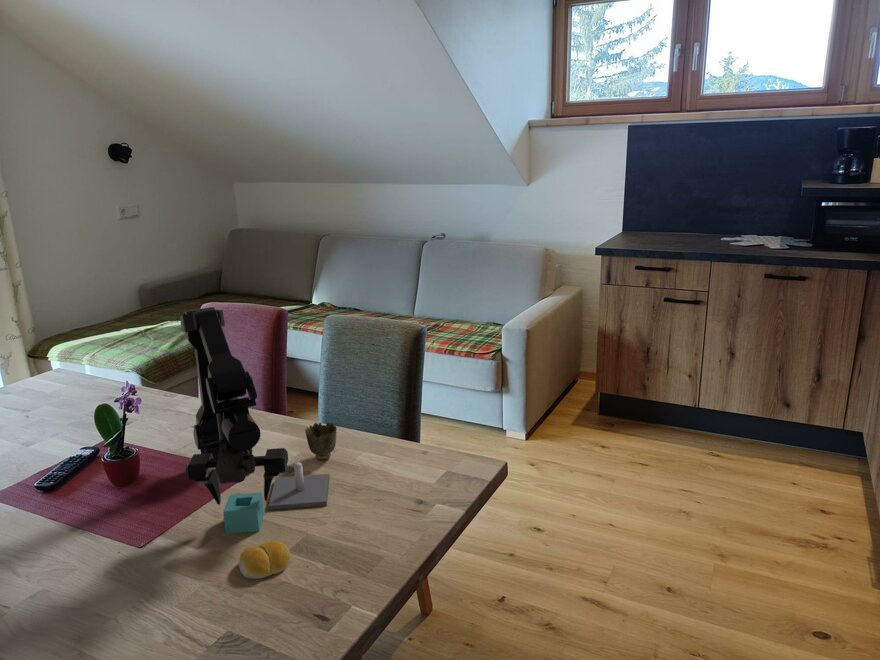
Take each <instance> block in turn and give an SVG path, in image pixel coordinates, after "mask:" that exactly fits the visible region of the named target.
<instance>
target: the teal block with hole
mask: <svg viewBox="0 0 880 660" xmlns="http://www.w3.org/2000/svg"><path fill="white" fill-rule="evenodd" d="M262 493H263V492H262V491H261V492H250V493H249V492H248V493H237V494H236V493H235V494H234V493H233V494H229V495H228V499H227V501H226V504H225V506H224V508H223V511H222V512H223V521H224V527H225V528H224V529H225V534H226V535H231V534H238V533H239V534H240V533H244V534H245V533H254V532H260V531H261V527H262V523H263V519H264V516H265V512H264V511H265V508H264V500H263V494H262Z"/></svg>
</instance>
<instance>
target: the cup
mask: <svg viewBox="0 0 880 660" xmlns="http://www.w3.org/2000/svg"><path fill="white" fill-rule="evenodd" d="M337 430H338V429H337V425H335V424H334V423H333V422H331V423H330V422H326V424H325V425H322V423H321V422H319V423H317V422H315V423H313V425H311V424H310V425H309V427H308V426H306V428H305V430H304V431H305V436H306V440H307V441H306V442H307V446H308V448H309V450H310V452H311V453H312V454H313V455H315V456H314V457H315V458H316V459H317V460H318V461H319V462H321V461H324V462H325V461H328V460H329V459H330V458H331V456H332V455H331V453H333V451H334V450H335V449H336V443H337Z"/></svg>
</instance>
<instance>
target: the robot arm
mask: <svg viewBox="0 0 880 660" xmlns="http://www.w3.org/2000/svg"><path fill="white" fill-rule="evenodd" d="M179 321H180V326H181V331H182V333H184V335H185V337H186V339H187V341H188V342H189V344H190V345H191V346H192V347H193V349H194V355H195V362H196V371H197V379H198V380H197V381H198V387H199V393H200V394H199V395H200V404H201V405H200V406H199V409H198V410H197V412H196V414H195V423H196V424H194V426H193V439H194V444H195V445H196V448H197V450H198V451H200V453H196V454H195V453H194V454H193V455H192V456H191V457H190V459H189V461H188V463H187V464H186V466H185V476H186V479H187V480H190V481H191V480H192V481H193V480H194V482H195V483H200V484H202V485H204V486H205V487H206V488H207V490H208V491H209V493H210V494H211V496H212V497H213V499H214V501H215V502H216V504H217V506H218V505H221V504H222V500H221V499H222V496H221V488H220V484H221V485H225V484H228V483H236V484H238V483H243V481H245V479H246V476H249V474H254V473H255V471H256V467H263V470H264V471H263V472H264V473H263V480H264V481H263V485H264V486H263V497H264V501H265V502H266V501H268V499H269V495H270V489H271V487H272V485H271V484H272V482H273V480H274V477H275V478H276V477H279V476H280V474H282V473H284V472H286V470H287V466H288V461H289V452H288V450H287V449H286V448H284V447H280V448H279V447H277V448H268V449H267V450H266V452H265V455H258V456H257V455H256V456H254V455H253V454H254V453H253V448H254V447H256V445H257V444H258V443H259V441H260V439H261V435H262V434H261V429H260V427H259V425H258V424H257V423H256V421H255V420H254V418H253V417H252V415H251V414H250V410H249V408H251V407H255V406H257V402H256V399H257V398H258V393H257V391H256V386H255V384H254V381H253V376H251V375H250V372H249V371H247V370H245V369H246V368H245V367H244V365H243V363H242V361H241V360H240V359H238V358H237V357H235V356H233V354H232V352H231V350H230V347H229V343H228V341H227V338H226V335H225V332H224V330H223V328H224V327H226V322H225V316H224V312H223V309H216V308H215V307H214V306H211V307H204V308H203V307H202V308H195V309H189V310H185V311H184V313H183V314H182V315H181V316H180V318H179ZM246 395H248V396H246ZM245 396H246V397H245ZM240 397H241V398H240Z"/></svg>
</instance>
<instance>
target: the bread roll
mask: <svg viewBox="0 0 880 660" xmlns="http://www.w3.org/2000/svg"><path fill="white" fill-rule="evenodd" d="M290 561H291V551H290V550H289V548H288V545H286V544H284V543H283V542H281V541H278V540H271V541H264V542H262V543H260V544H259V545H258V546H249V547H247V548H245V549H244V550H243V551H242V552H241V553H240V556H239V561H238V568H239V570H240V571H239V572H240V573H241V575H242V576H243V577H244V578H246V579H252V580H253V579H254V580H256V579H257V580H258V579H259V580H260V579H263V578H264V579H265V578H267V577H270V576H272V575H275V574H276V575H277V574H279V573H281V572H283V571H284V570H285V569H286V568H287V567H288V565H289V563H290Z"/></svg>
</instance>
